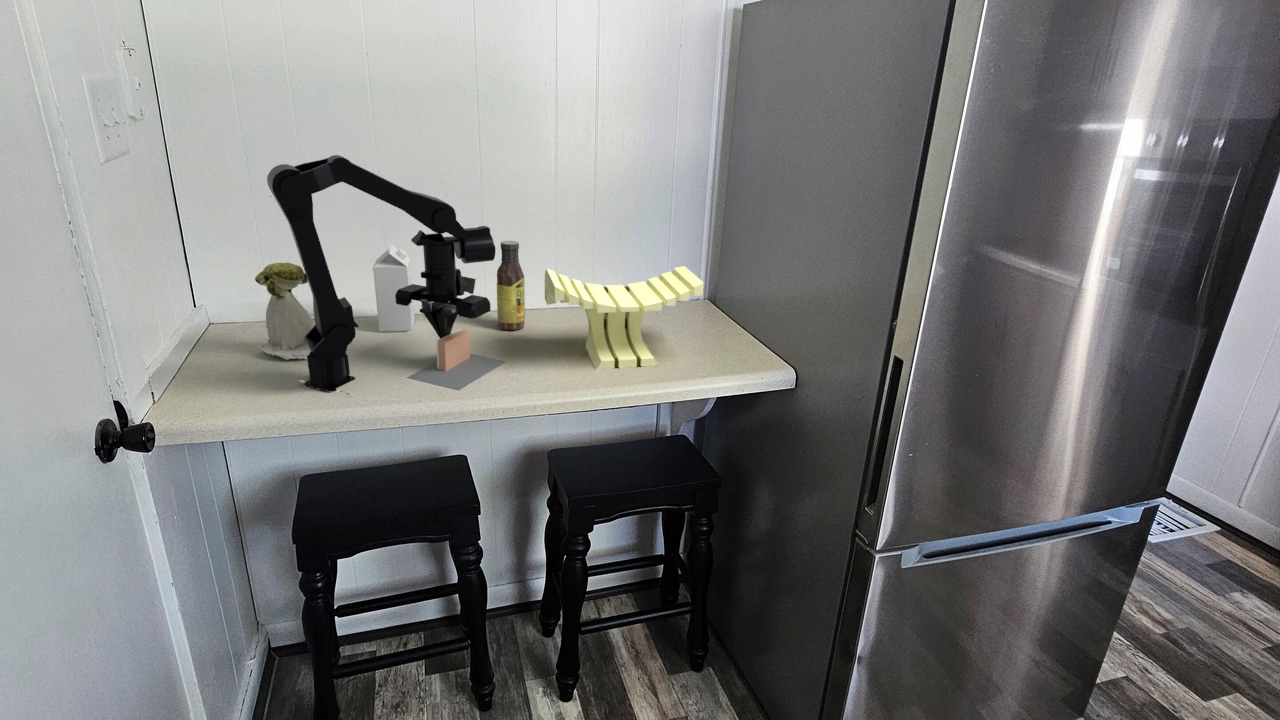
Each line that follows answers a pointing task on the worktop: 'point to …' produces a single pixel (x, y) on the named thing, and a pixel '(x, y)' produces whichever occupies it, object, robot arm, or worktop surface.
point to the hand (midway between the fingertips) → (445, 341)
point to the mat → (458, 372)
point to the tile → (453, 349)
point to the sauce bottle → (510, 289)
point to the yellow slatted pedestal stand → (621, 312)
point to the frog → (285, 312)
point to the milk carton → (393, 290)
